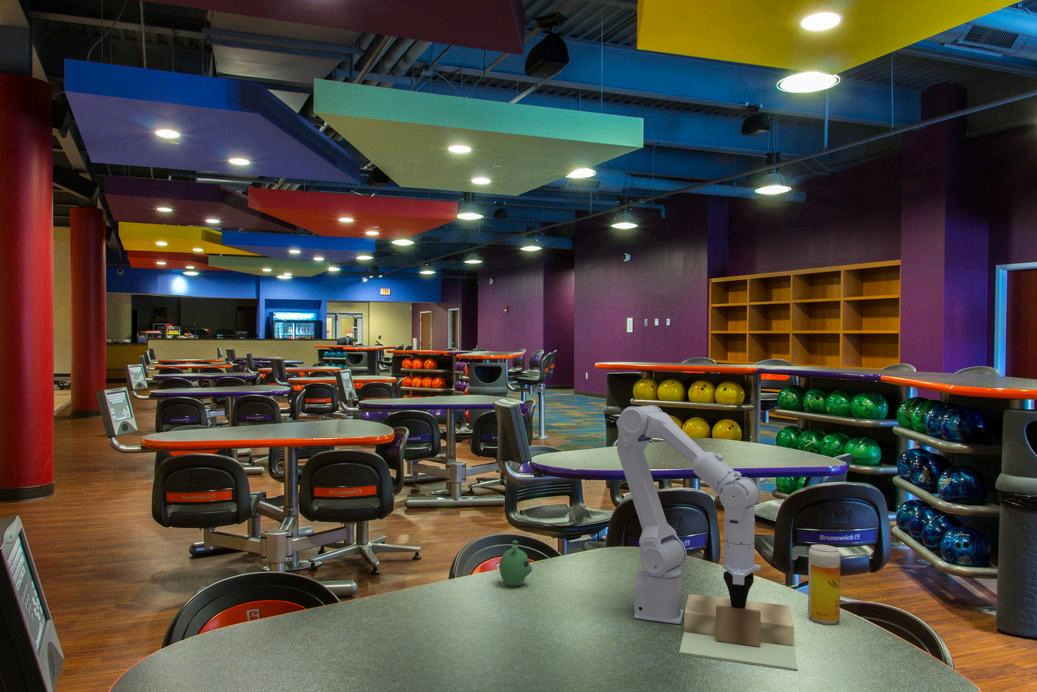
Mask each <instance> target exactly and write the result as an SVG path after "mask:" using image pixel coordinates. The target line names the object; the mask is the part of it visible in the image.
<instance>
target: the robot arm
mask: <svg viewBox="0 0 1037 692" xmlns="http://www.w3.org/2000/svg"><path fill="white" fill-rule="evenodd" d="M615 423H616V426H617V430H618V432H617V443H616V450H617V451H616V452H617V454H618V457H619V461H620V465H621V467H622V468H621V469H622V470H623V473H624V477H625V480H626V483H627V486H628V489H629V493H630V496H631V499H632V502H633V505H634V507H635V511H636V515H637V517H638V520H639V523H640V526H641V530H642V531H641V534H640V537H639V541H638V544H639V548H640V557H639V558H640V563H641V566H642V568H643V570H637V571H636V573H635V581H634V601H633V605H634V610H633V611H634V612H633V613H634V615H633V618H634V619H636V620H637V619H638V620H639V619H640V620H645V621H653V622H661V623H668V624H676V625H681V624H682V620H683V617H684V612H685V609H682V608H681V607H682V606H681V604H682V603H681V602H682V600H681V599H682V597H681V595H682V589H681V588H682V567H681V566H682V565H684V564H685V561H686V560H687V555H688V554H687V549H686V548H687V547H685V544H684V543H683V541H681V539H680V538H679V537H678V535H677V532H676V530H675V529H674V528H673V527H672V526H671V525H670V524H669V523H668V521H667V519H666V515H665V512H664V509H663V506H662V503H661V500H660V497H659V494H658V491H657V488H656V484H655V482H654V479H653V475H652V473H651V469H650V467H649V463H648V461H647V457H646V455H645V451H646V449H647V447H648V445H649V443H650V441H651V440H652V439H659V440H663V441H664V442H666V443H667V444H668V445H669V446H670V447H671V448H673V449H674V450H676V452H678V453H679V454H681V456H683V457H684V458H686V459H687V460H688V461H689V462H690V463H691V464H692V467H693V468H692V469H693V473H694V474H695V475H696V476H697V477H698V478H699V479H700V480H701V481H703V483H705V484H706V485H707V486H708V487H709V488H710V489H711V490H713V491H714V493H716V494H717V495H718V497H719V501H720V504H721V505H722V506H723V508H724V509H723V510H724V513H723V514H724V516H723V561H722V562H721V563H722V568H723V569H724V570H725V571H723V576H722V577H723V580H724V582H725V584H726V587H727V590H728V594H729V599H730V601H731V607H734V608H743V609H745V606H746V601H748V600H747V599H748V596H749V592H750V589H751V587H752V586H753V584H754V581H755V576H754V573H753V572H754V571H757V572H758V571H759V572H760V571H761V565H760V564H756V563H755V534H756V533H755V529H756V527H755V523H756V519H755V504H756V503H758V500H759V497H760V491H759V488H758V486H757V484H756V483H755V482H754V480H753V479H751V478H749V477H747V476H744V477H743V476H742V473H741V472H740V471H735V470H734V469H733V468H732V467H731V466H730V465H728V464H727V462H725V461H724V460H723V459H724V456H723V455H722V454H721V453H715V452H713V451H704V449H702V448H701V447H700V446H699V444H697V443H696V442H695V441H694V440H693V439H692V438H691V437H690V436H689V435H688V434H687V433H686V432H684V430H682V428H681V427H680V426H679V425H678V424H676V423H675V422H674V420H673V419H672V417H671V416H670V415H669V414H668V413H667V412H663V410H662V409H661V408H660V407H659V406H657V405H654V404H649V405H643V406H628V407H626V408H624V410H622V412H621V414H620V415H619V416H618V418H617V420H616V422H615Z"/></svg>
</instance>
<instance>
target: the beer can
mask: <svg viewBox="0 0 1037 692" xmlns="http://www.w3.org/2000/svg"><path fill="white" fill-rule="evenodd" d="M807 573H808V576H807V578H808V579H807V580H808V582H807V583H808V585H807V587H808V588H807V596H808V597H807V615H808V617H810V620H812V621H813V622H815V623H817V622H818V624H821V623H822V624H821V625H836V624H837V623H838V621H840V618H841V553H840V551H839V548H838V547H836V546H832V545H828V544H811V545H810V548H809V549H808V572H807Z"/></svg>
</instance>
